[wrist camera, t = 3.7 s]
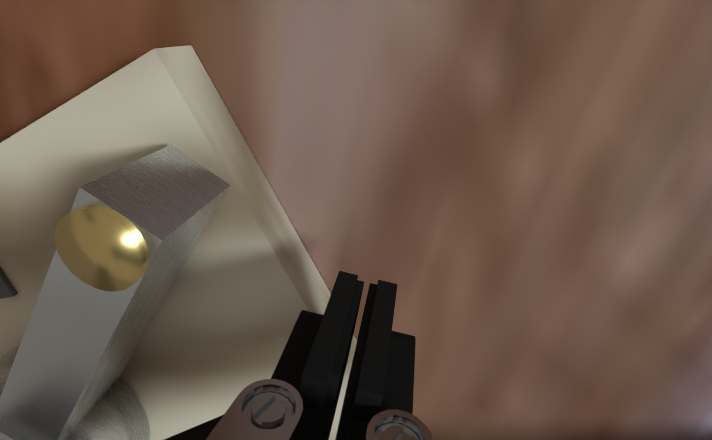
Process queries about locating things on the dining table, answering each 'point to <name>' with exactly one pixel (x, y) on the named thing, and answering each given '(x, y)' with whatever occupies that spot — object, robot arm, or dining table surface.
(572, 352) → the dining table surface
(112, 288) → the crank
